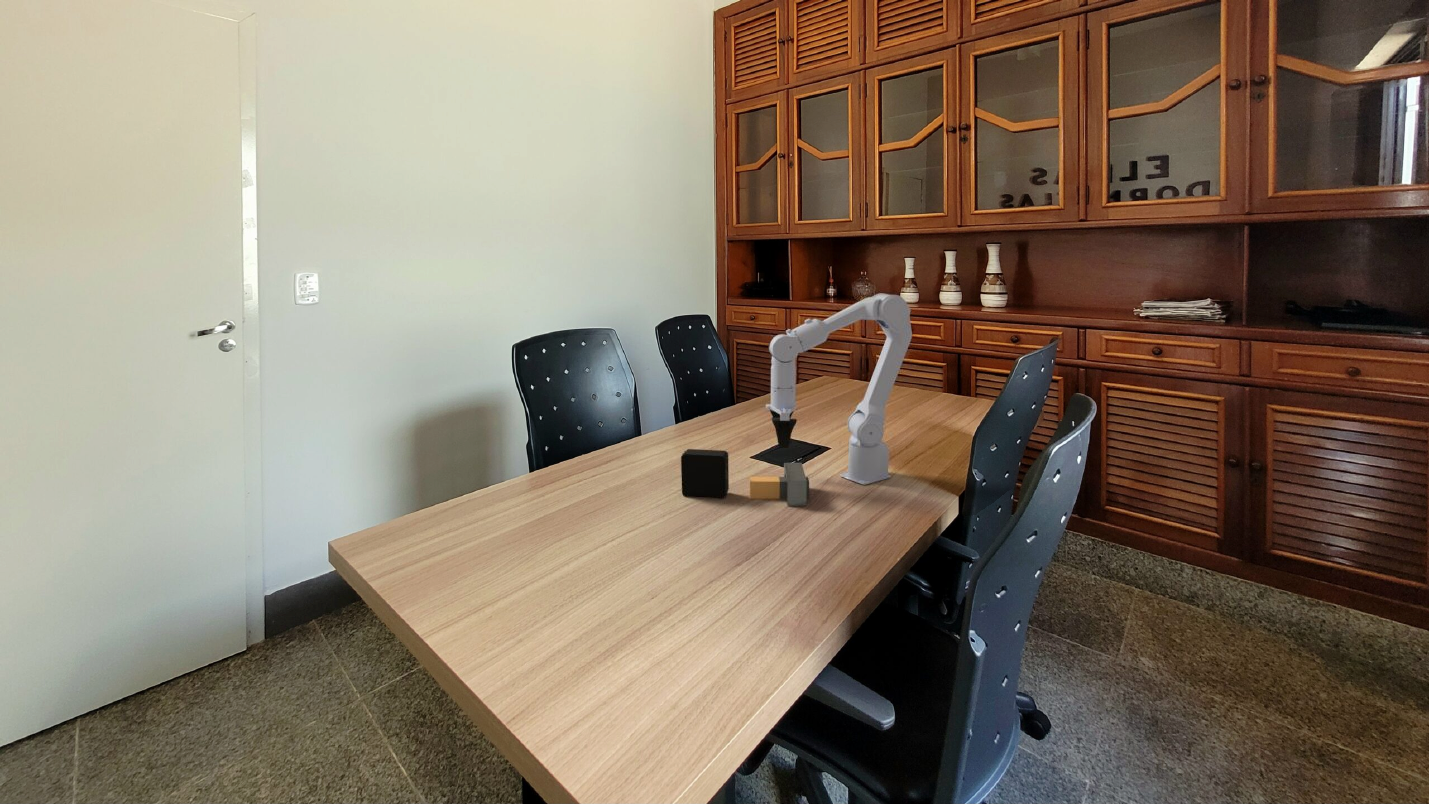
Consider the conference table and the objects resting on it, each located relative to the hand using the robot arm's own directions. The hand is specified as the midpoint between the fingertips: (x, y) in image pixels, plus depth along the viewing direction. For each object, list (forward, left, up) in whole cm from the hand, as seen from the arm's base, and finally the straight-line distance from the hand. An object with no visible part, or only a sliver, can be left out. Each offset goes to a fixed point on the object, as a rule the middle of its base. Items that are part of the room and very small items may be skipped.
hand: (782, 442), depth 144 cm
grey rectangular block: (+4, +9, -9) cm, 14 cm away
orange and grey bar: (+7, +7, -9) cm, 14 cm away
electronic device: (+20, -3, -10) cm, 22 cm away
